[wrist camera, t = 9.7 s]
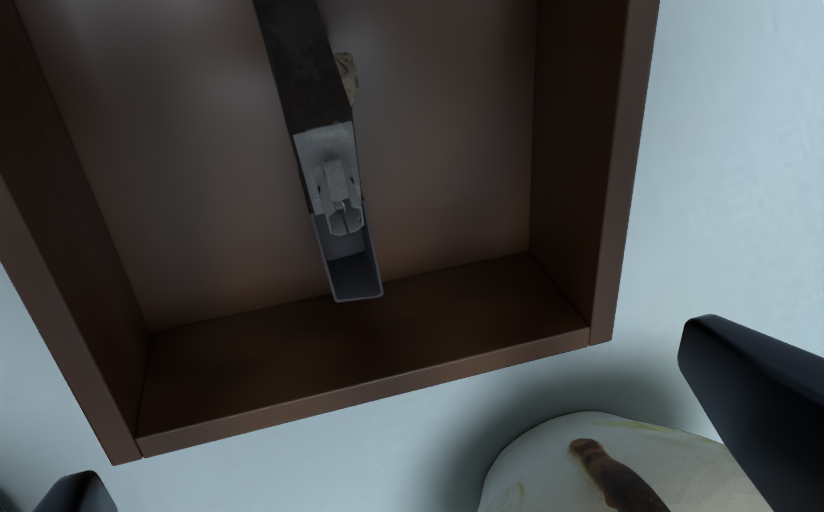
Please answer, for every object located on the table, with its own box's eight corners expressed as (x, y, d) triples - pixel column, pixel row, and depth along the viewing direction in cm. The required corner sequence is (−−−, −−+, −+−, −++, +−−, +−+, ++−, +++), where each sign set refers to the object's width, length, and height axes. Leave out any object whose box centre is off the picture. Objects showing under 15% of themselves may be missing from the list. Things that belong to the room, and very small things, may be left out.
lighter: (360, 166, 21) (403, 302, 19) (301, 181, 20) (340, 320, 18) (337, -30, 13) (405, 160, 11) (246, -11, 13) (299, 187, 11)
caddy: (135, 345, 20) (111, 468, 16) (-56, -90, 13) (-187, -76, 9) (540, 256, 22) (612, 341, 18) (560, -147, 16) (684, -157, 11)
